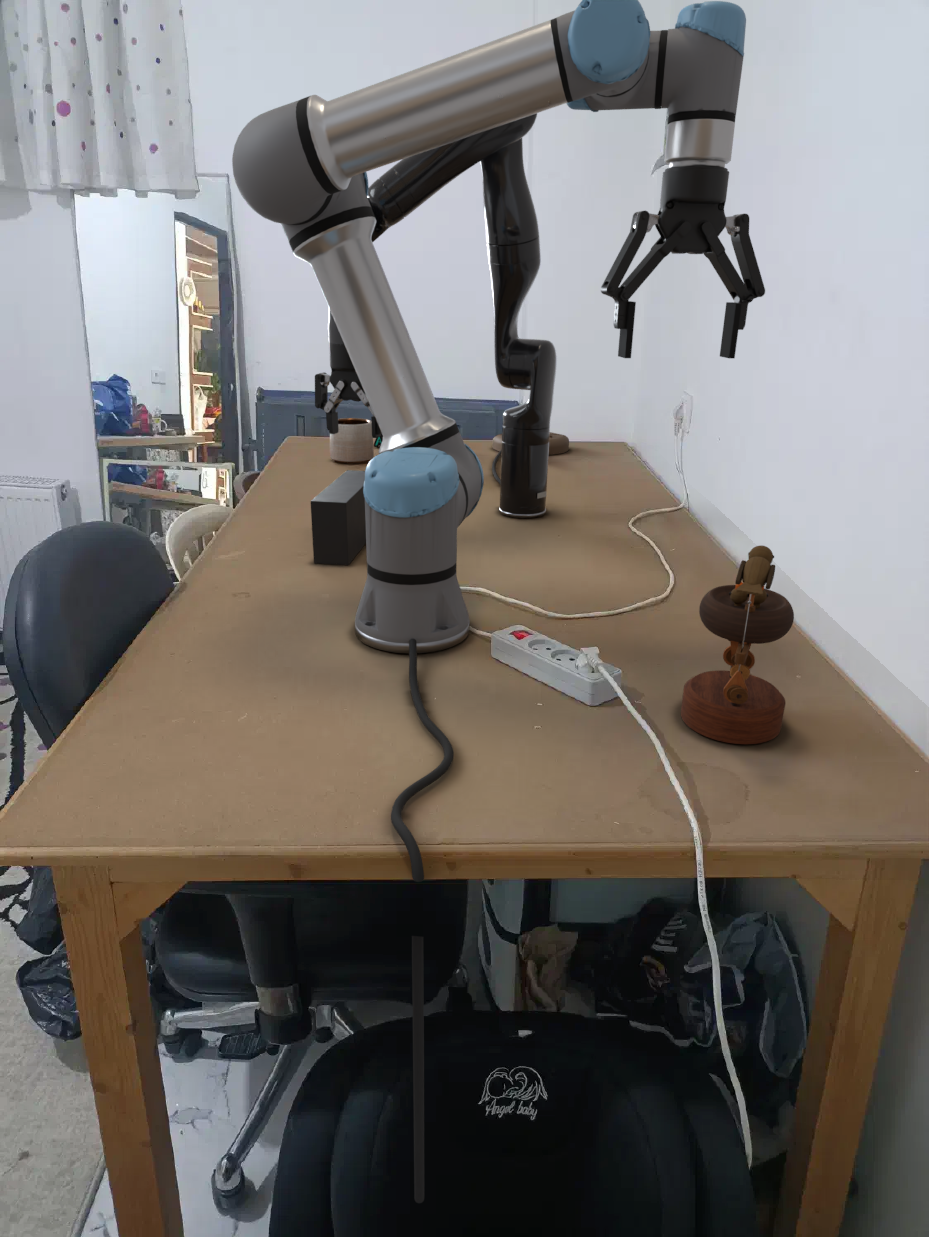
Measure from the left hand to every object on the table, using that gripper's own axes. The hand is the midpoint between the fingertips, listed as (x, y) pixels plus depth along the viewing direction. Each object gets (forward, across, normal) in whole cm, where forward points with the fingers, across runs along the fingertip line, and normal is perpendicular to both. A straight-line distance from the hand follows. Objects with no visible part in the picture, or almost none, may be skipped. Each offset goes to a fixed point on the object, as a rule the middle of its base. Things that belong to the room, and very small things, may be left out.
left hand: (676, 357), depth 106 cm
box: (+35, +41, -39) cm, 67 cm away
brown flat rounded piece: (+35, -11, -114) cm, 120 cm away
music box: (+35, +2, +29) cm, 46 cm away
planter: (+35, +38, -110) cm, 121 cm away
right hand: (+18, +39, -48) cm, 64 cm away
